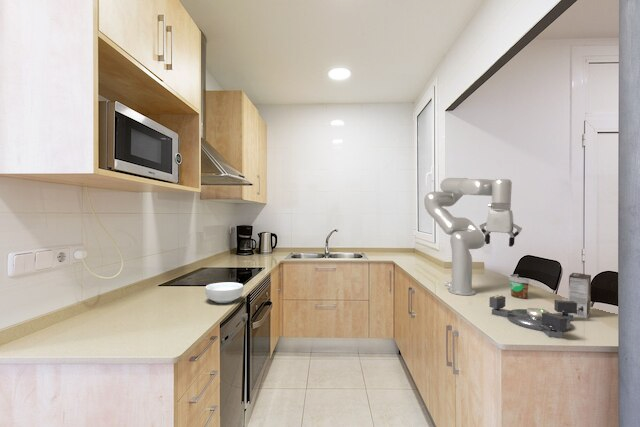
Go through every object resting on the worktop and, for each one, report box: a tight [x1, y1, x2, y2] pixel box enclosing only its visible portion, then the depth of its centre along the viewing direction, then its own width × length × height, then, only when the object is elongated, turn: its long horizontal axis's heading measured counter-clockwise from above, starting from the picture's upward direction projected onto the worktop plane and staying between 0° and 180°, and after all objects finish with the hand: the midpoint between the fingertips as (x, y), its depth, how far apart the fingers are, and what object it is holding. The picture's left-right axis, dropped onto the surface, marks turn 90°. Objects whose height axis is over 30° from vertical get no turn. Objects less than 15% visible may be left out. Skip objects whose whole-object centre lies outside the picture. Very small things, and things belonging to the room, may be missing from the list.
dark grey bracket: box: [488, 294, 506, 309], centre depth 136 cm, size 6×4×4 cm
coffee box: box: [568, 272, 592, 319], centre depth 137 cm, size 9×6×16 cm
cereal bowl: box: [204, 281, 244, 304], centre depth 151 cm, size 17×17×7 cm
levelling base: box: [491, 299, 577, 339], centre depth 128 cm, size 26×30×7 cm
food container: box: [508, 273, 530, 300], centre depth 164 cm, size 12×6×10 cm, turn 172°
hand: (499, 245), depth 150 cm, fingers open, 9 cm apart
